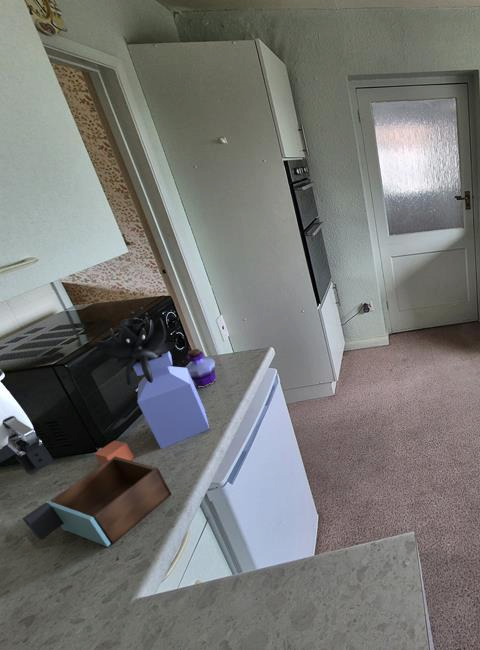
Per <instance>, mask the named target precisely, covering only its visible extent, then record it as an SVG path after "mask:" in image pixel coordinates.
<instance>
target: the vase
mask: <svg viewBox="0 0 480 650" xmlns="http://www.w3.org/2000/svg"><path fill="white" fill-rule="evenodd" d="M143 309H144V308H143V307H142V306H141V307H139V309H137V310H136V311H135V312H134V311H130V313H129V314H130V315H129V316H128V318H123V319H121V320H120V324H121V327H119V326H118V327H117V333H118V337H117V336H116V335H115V333H114V331H113V329H112V328H111V327H110V328H109V334H110V336H111V339H107V340H97V341H94V342H93V345H94V346H95V347H96V348H97V349H99V350H100V351H101V352H102V353H103V354H105V355H106V356H107V357H110V358H113V359H116V360H117V361H116V362H115V364H114V365H113V367H112V369H120V368H125V370H124V379H125V383H126V385H127V386H131V385H132V383H133V371H134V372H135V374H136V376H137V377H140V376H144V377H143V378H142V379H141V380H140V381H139V382H138V383H137V386H138V387H137V404H138V406H139V409H140V410H141V412H142V414H143V416H144V419H145V420H146V424H148V426H149V428H150V430H151V432H152V434H153V436H154V438H155V440H156V442H157V444H158V446H159V448H160V449H161V450H162V449H165V448H167V447H169V446H172V445H175V444H177V443H179V442H182V441H184V440H187V439H190V438H191V437H194V436H196V435H199V434H201V433H204V432H207V431H209V430H210V426H209V421H208V417H207V413H205V412H206V410H205V407H204V404H203V402H202V400H201V398H200V395H199V393H198V390H197V387H196V386H195V382H194V381H193V379H191V376H190V374H189V372H188V369H187V368H185V367H182V366H173V359H172V354H171V352H170V351H172V350H173V348H175V346H177V344H178V342H177V341H173V342H166V340H167V330H166V327H165V324H164V321H163V320H162V318H161V317H159V318H157V320H156V321H155V322H153V320H152V319H148V317H147V316H148V312H144V313H143V315H142V316H140V317H139V318H138V317H135V316H136V314H137V313H138V312H139V311H140V310H141V311H142V310H143ZM131 316H132V317H131ZM143 316H144V319H142V317H143ZM130 317H131V318H130Z"/></svg>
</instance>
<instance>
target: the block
mask: <svg viewBox="0 0 480 650" xmlns="http://www.w3.org/2000/svg"><path fill="white" fill-rule="evenodd" d="M93 454H94V457H95V458H96V459H97V461H98V463H99V465H100V466H102V465H103V464H104V463H106V462H107V461H109V460H110V459H112V458H113V457H115V456H116V457H119V458H123V459H126V460H130V461H133V459H134V458H135V455H134V454H133V452H132V451H131V448H130V447H129V445H128V443H126V442H123V441H120V440H119V441H118V440H113V441H111V442H109V444H107V445H105V446H104V447H102V448H101V449H99V450H98V451H96V452H94V453H93Z"/></svg>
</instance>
